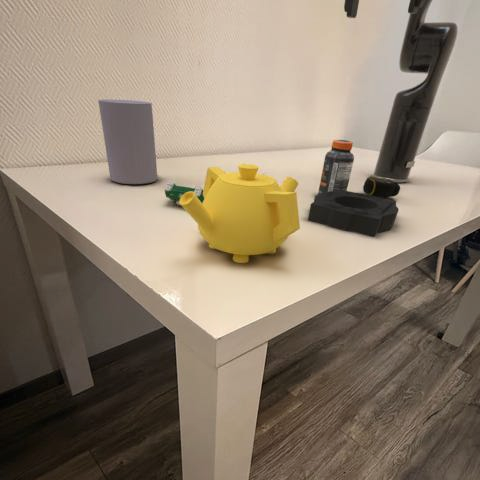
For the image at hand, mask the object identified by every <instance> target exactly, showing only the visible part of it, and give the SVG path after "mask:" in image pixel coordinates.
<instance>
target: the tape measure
mask: <svg viewBox="0 0 480 480" xmlns="http://www.w3.org/2000/svg"><path fill="white" fill-rule="evenodd" d="M400 191H401V186H400V184H399V183H398V182H393V181H390V180H387V179H384V178H377V177H373V176H369V177H367V178H366V179H365V180H364V183H363V186H362V192H364V194H367V195H372V196H376V197H379V198H384V199H388V198H392V197H396V196H398V195H399V194H400Z"/></svg>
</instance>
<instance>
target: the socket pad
mask: <svg viewBox="0 0 480 480" xmlns="http://www.w3.org/2000/svg"><path fill="white" fill-rule="evenodd" d="M397 203H398V200H393V199H390V198H381V197H376V196H372V195H368V194H366V193H362V192H354V191H349V190H347V191H345V190H340V189H336V190H334V191H330V192H323V193H320V194H318V193H317V194H315V195H314V199H313V202H311V203H310V205H309V206H310V207H309V211H308V217H307V221H310V222H313V223H318V224H322V225H325V226H328V227H330V228H335V229H338V230H342V231H347V232H353V233H357V234H362V235H366V236H370V237H373V238H374V237H376V236H377V234H379V233H383V232H387V231H390V230H391V229H392V228H393V227H394V226H395V222H396V219H397V217H398V213H399V210H400V209H399V207H398V206H397Z"/></svg>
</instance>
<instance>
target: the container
mask: <svg viewBox="0 0 480 480" xmlns="http://www.w3.org/2000/svg"><path fill="white" fill-rule="evenodd" d="M97 101H98V108H99V114H100V121H101V127H102V134H103V139H104V140H103V141H104V146H105V147H104V148H105V153H106V158H107V159H106V160H107V164H108V172H109V178H110V180H111V181H112V182H115V183H117V184H120V185H128V186H142V185H143V186H144V185H150V184H153V183H155V182H156V181H157V180H158V168H157V154H156V142H155V141H156V140H155V129H154V118H153V117H154V115H153V103H152V102H150V101H142V100H129V99H110V98H109V99H98V100H97Z"/></svg>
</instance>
